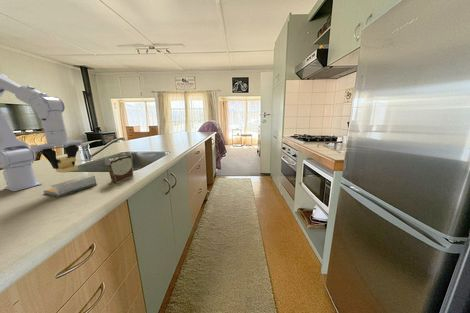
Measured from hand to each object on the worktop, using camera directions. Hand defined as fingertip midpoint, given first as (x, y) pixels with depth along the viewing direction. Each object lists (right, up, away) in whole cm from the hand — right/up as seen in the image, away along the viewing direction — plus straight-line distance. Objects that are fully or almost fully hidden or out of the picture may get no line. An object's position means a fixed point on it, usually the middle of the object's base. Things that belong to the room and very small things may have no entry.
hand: (64, 166), depth 70 cm
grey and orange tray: (+3, -9, 0) cm, 9 cm away
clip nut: (+1, -1, 0) cm, 2 cm away
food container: (+15, -6, +9) cm, 19 cm away
